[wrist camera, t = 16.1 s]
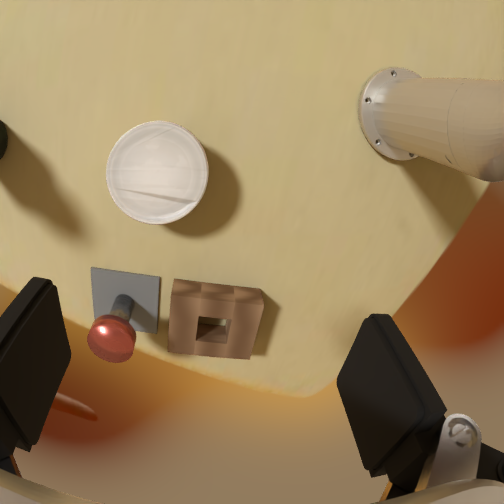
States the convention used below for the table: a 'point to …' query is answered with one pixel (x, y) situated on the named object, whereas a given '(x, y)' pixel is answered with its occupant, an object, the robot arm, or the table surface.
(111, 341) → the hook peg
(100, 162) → the table surface
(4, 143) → the potion bottle
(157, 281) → the slate mat
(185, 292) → the eye block
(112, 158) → the ramekin
